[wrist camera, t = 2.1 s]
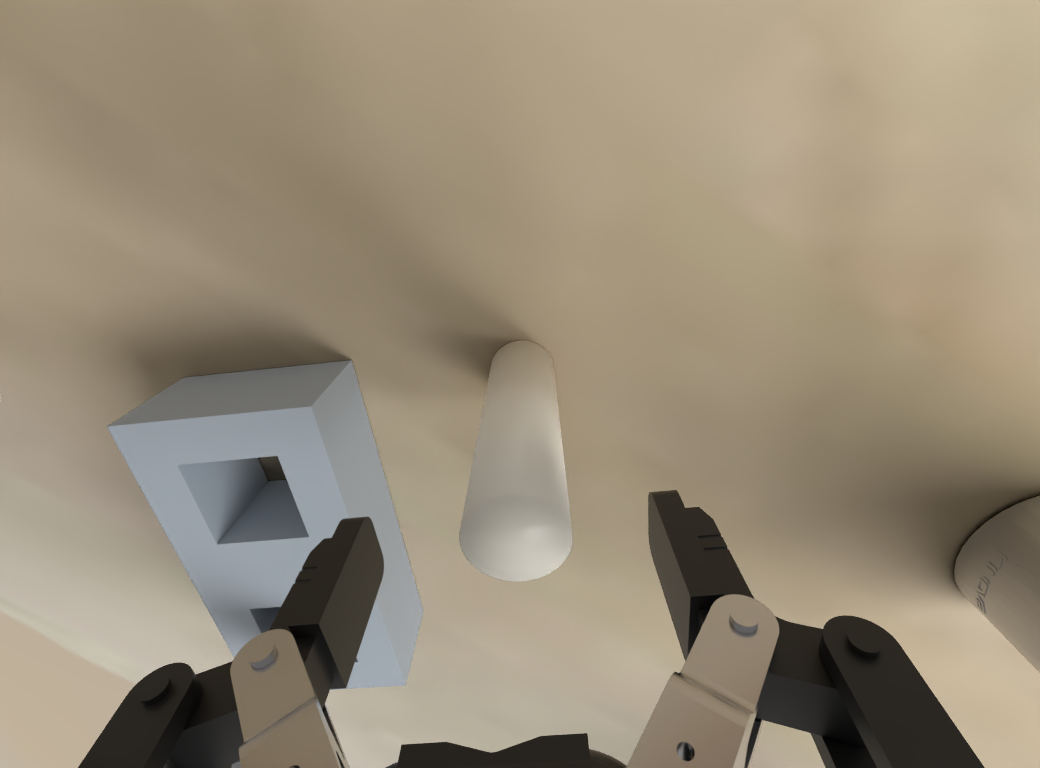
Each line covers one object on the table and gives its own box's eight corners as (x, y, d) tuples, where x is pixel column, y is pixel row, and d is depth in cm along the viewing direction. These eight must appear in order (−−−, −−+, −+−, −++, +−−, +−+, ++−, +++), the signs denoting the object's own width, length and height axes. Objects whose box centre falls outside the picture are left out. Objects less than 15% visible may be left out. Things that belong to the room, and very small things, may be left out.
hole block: (351, 360, 25) (311, 406, 20) (423, 610, 32) (405, 685, 28) (182, 377, 25) (106, 426, 21) (292, 619, 33) (254, 694, 28)
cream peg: (550, 337, 24) (567, 489, 13) (556, 395, 25) (576, 577, 14) (486, 343, 24) (450, 499, 13) (495, 401, 25) (469, 584, 15)
